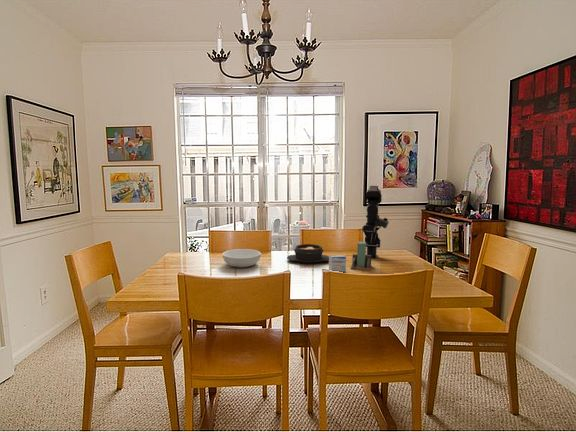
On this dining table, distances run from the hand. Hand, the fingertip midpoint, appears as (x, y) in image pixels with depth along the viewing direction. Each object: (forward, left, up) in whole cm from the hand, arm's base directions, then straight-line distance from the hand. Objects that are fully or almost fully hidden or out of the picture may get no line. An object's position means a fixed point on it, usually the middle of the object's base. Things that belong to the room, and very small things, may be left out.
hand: (371, 241), depth 195 cm
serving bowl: (+33, -63, -13) cm, 72 cm away
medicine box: (+22, -12, -13) cm, 28 cm away
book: (+7, -4, -12) cm, 15 cm away
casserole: (+8, -34, -13) cm, 37 cm away
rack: (+7, -4, -13) cm, 15 cm away
